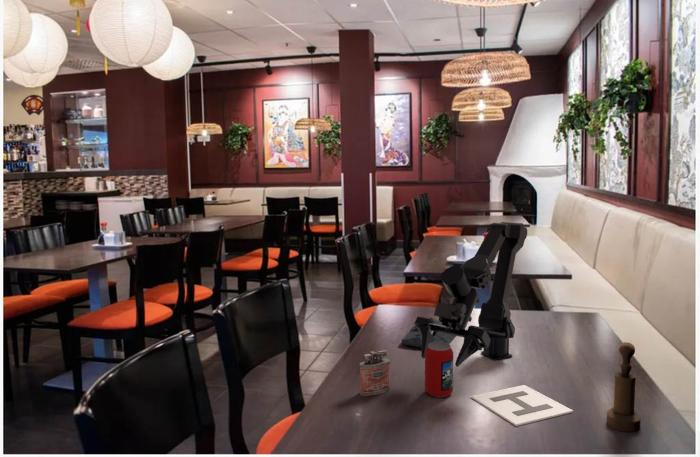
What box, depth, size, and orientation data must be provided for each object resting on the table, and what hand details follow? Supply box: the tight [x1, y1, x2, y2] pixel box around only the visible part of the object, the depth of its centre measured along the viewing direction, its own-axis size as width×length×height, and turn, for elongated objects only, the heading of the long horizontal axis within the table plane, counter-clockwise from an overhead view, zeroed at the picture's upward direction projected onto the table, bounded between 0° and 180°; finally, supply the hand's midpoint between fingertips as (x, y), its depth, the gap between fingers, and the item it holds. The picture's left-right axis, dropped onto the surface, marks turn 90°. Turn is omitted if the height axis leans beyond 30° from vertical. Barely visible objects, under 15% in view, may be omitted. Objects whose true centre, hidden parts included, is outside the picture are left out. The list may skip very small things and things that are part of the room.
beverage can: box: [424, 342, 454, 398], centre depth 138 cm, size 7×7×12 cm
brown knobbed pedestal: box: [606, 341, 642, 433], centre depth 121 cm, size 7×6×18 cm
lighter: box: [359, 349, 391, 397], centre depth 139 cm, size 8×3×10 cm, turn 118°
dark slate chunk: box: [401, 316, 457, 349], centre depth 180 cm, size 15×22×5 cm
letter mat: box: [470, 384, 574, 427], centre depth 132 cm, size 16×16×1 cm
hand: (439, 361), depth 138 cm, fingers open, 9 cm apart
